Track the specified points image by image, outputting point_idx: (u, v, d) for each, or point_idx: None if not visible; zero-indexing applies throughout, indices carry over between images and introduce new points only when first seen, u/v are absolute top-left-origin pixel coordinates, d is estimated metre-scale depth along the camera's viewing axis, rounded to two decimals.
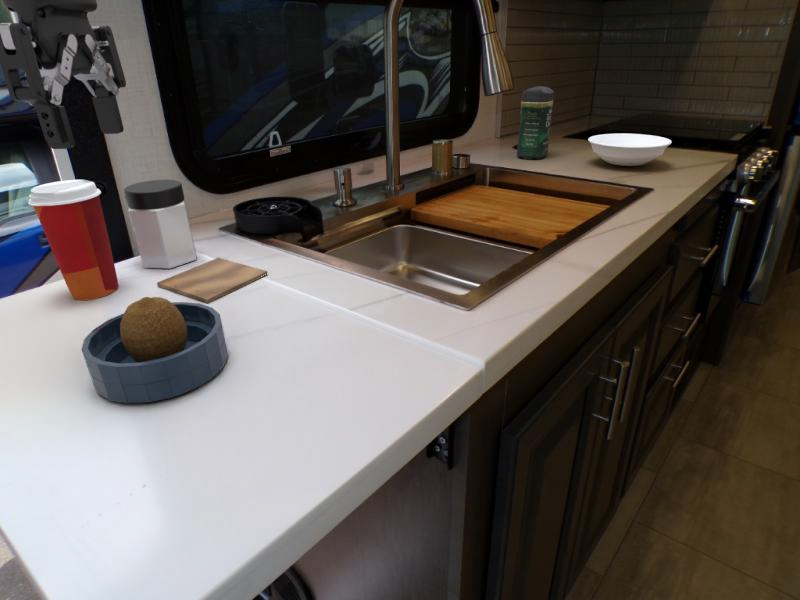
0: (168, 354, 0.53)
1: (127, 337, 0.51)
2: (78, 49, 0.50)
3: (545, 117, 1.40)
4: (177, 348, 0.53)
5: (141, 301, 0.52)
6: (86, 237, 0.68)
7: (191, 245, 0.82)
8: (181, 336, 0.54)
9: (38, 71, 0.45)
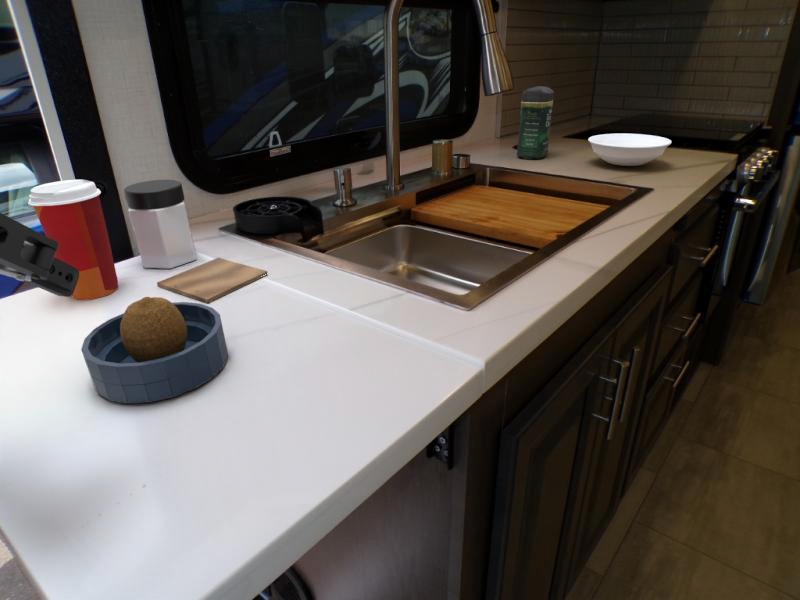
0: (168, 354, 0.53)
1: (127, 337, 0.51)
2: None
3: (545, 117, 1.40)
4: (177, 348, 0.53)
5: (141, 301, 0.52)
6: (85, 237, 0.68)
7: (191, 245, 0.82)
8: (181, 336, 0.54)
9: None
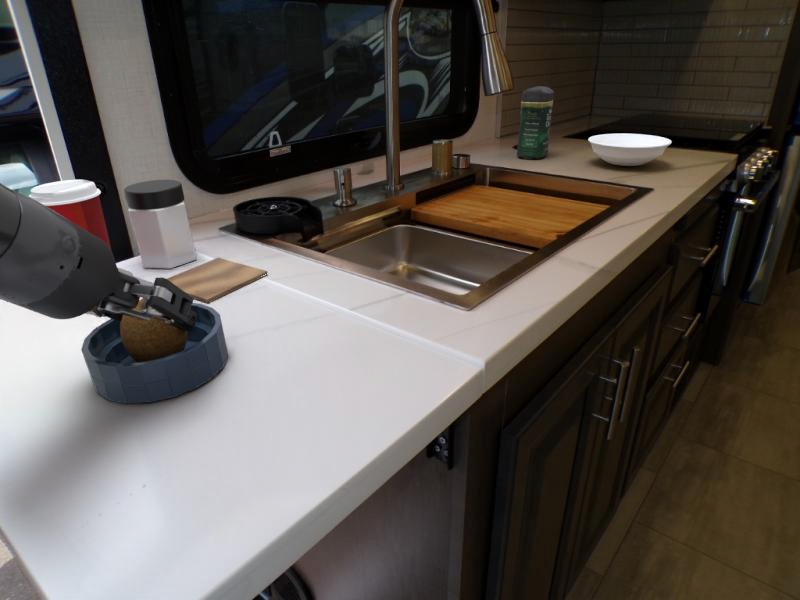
0: (168, 354, 0.53)
1: (127, 337, 0.51)
2: None
3: (545, 117, 1.40)
4: (177, 348, 0.53)
5: (141, 301, 0.52)
6: None
7: (191, 245, 0.82)
8: (181, 336, 0.54)
9: None
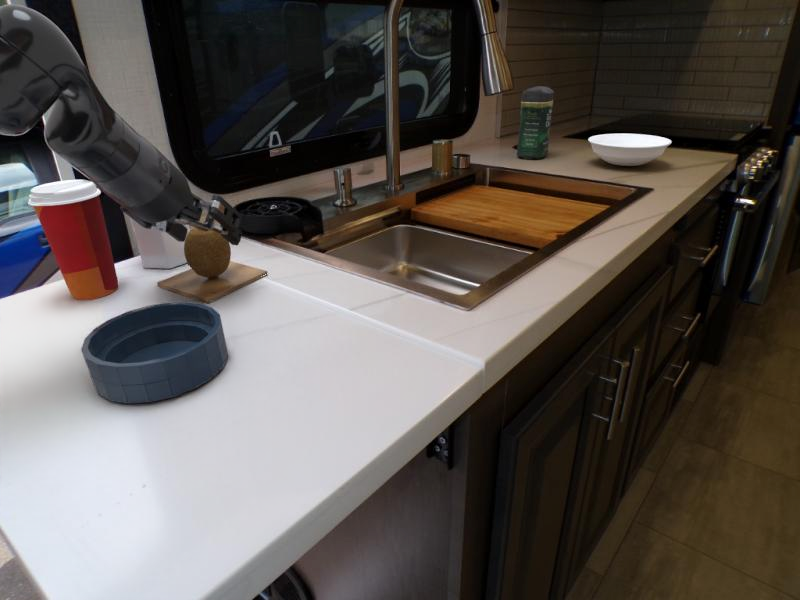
0: (218, 266, 0.73)
1: (190, 252, 0.71)
2: None
3: (545, 117, 1.40)
4: (225, 262, 0.74)
5: None
6: (85, 237, 0.68)
7: None
8: (227, 253, 0.74)
9: None
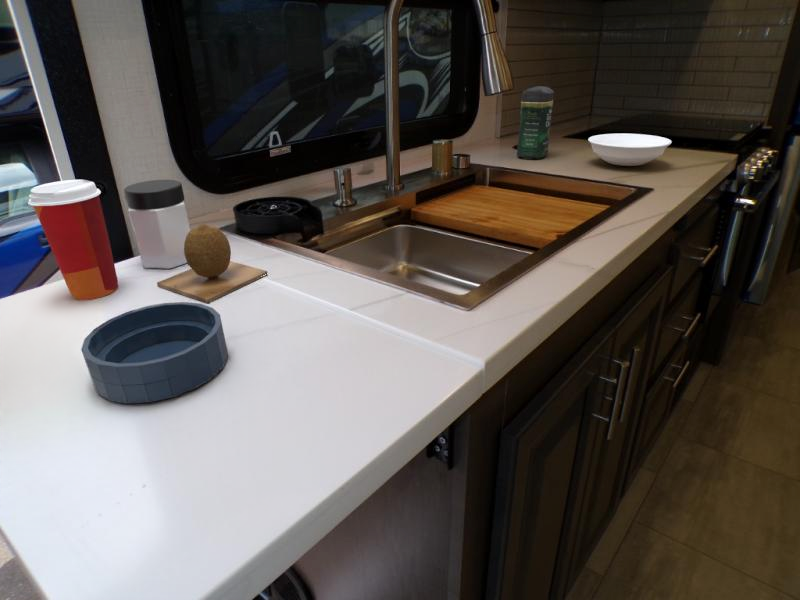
0: (218, 266, 0.73)
1: (190, 252, 0.71)
2: None
3: (545, 117, 1.40)
4: (225, 262, 0.74)
5: (199, 226, 0.72)
6: (85, 237, 0.68)
7: None
8: (227, 253, 0.74)
9: None
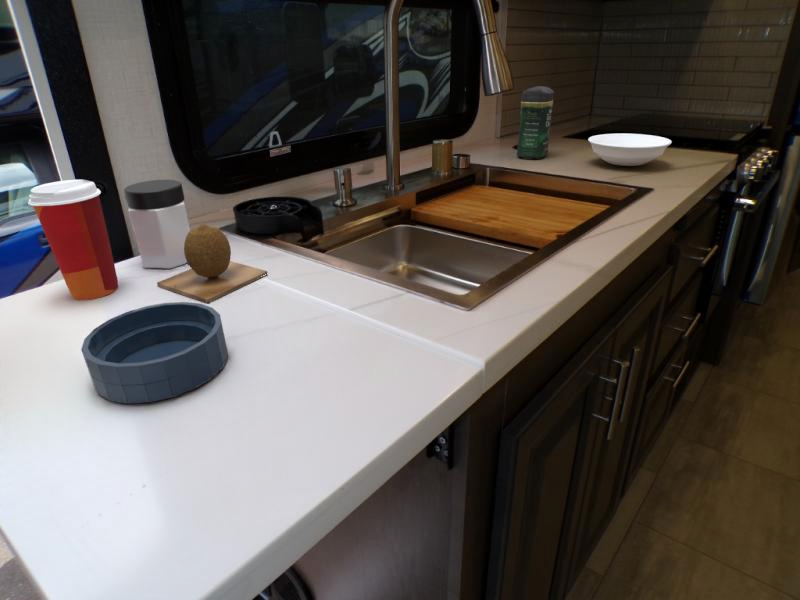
0: (218, 266, 0.73)
1: (190, 252, 0.71)
2: None
3: (545, 117, 1.40)
4: (225, 262, 0.74)
5: (199, 226, 0.72)
6: (85, 237, 0.68)
7: None
8: (227, 253, 0.74)
9: None
